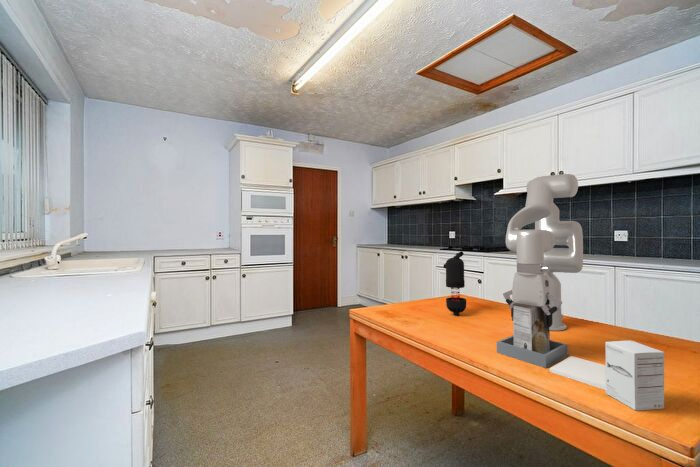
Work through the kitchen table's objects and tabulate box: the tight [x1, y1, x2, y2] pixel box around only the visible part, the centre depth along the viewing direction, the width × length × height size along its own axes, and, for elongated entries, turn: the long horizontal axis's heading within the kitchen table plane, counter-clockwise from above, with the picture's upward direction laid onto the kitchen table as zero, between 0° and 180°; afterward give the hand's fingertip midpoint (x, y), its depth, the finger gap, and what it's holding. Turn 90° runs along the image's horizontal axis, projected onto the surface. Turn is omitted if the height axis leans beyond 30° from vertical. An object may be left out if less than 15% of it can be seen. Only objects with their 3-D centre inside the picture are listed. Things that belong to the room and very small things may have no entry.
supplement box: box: [605, 340, 665, 411], centre depth 72 cm, size 7×7×13 cm
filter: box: [443, 250, 467, 317], centre depth 147 cm, size 14×9×30 cm
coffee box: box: [512, 303, 551, 354], centre depth 99 cm, size 9×6×16 cm
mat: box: [549, 355, 606, 391], centre depth 85 cm, size 14×14×1 cm
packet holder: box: [496, 334, 569, 369], centre depth 99 cm, size 15×15×4 cm
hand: (530, 323), depth 99 cm, fingers open, 9 cm apart
